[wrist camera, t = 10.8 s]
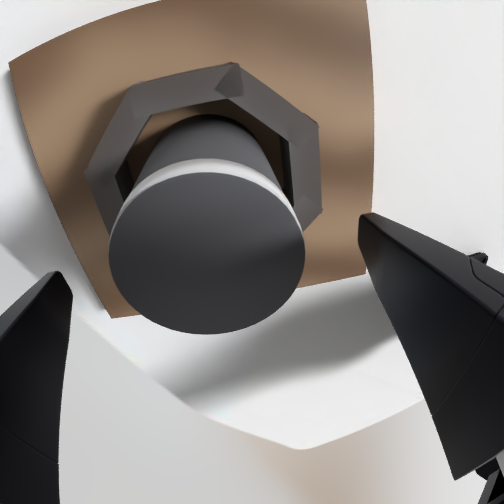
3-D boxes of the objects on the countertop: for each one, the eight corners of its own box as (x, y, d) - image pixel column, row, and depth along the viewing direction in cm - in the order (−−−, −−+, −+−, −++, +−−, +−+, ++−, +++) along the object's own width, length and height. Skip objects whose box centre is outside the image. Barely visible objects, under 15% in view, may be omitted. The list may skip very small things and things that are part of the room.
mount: (358, 262, 20) (377, 296, 17) (114, 305, 20) (105, 342, 17) (353, -11, 10) (386, -21, 8) (20, 60, 10) (-16, 68, 7)
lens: (271, 211, 16) (308, 318, 10) (165, 230, 15) (146, 344, 10) (258, 103, 12) (301, 155, 7) (135, 128, 12) (76, 201, 7)
